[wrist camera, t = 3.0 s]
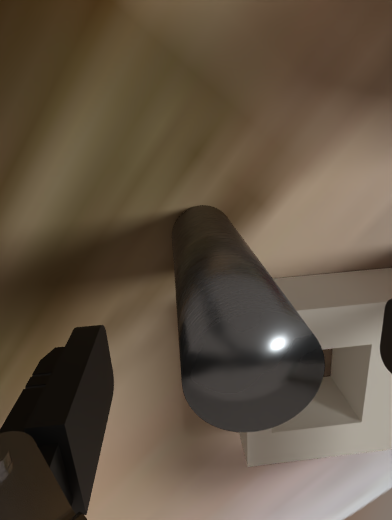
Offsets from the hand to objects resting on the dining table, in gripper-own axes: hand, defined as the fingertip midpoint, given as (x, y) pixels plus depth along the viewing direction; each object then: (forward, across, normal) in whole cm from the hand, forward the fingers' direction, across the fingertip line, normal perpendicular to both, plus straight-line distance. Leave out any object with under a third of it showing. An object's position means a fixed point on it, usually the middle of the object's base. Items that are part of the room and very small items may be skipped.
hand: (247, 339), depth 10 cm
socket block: (+10, -8, +8) cm, 15 cm away
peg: (+10, 0, 0) cm, 10 cm away
